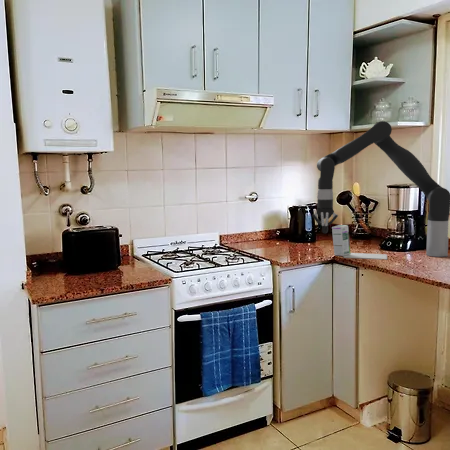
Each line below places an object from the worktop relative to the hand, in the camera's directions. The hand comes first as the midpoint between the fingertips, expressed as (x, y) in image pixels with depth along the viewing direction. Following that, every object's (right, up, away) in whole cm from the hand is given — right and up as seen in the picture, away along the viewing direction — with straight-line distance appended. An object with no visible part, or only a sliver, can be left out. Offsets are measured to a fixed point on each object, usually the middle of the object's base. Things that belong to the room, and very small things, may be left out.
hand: (324, 233), depth 234 cm
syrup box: (+8, -11, -1) cm, 14 cm away
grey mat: (+19, -11, -5) cm, 22 cm away
